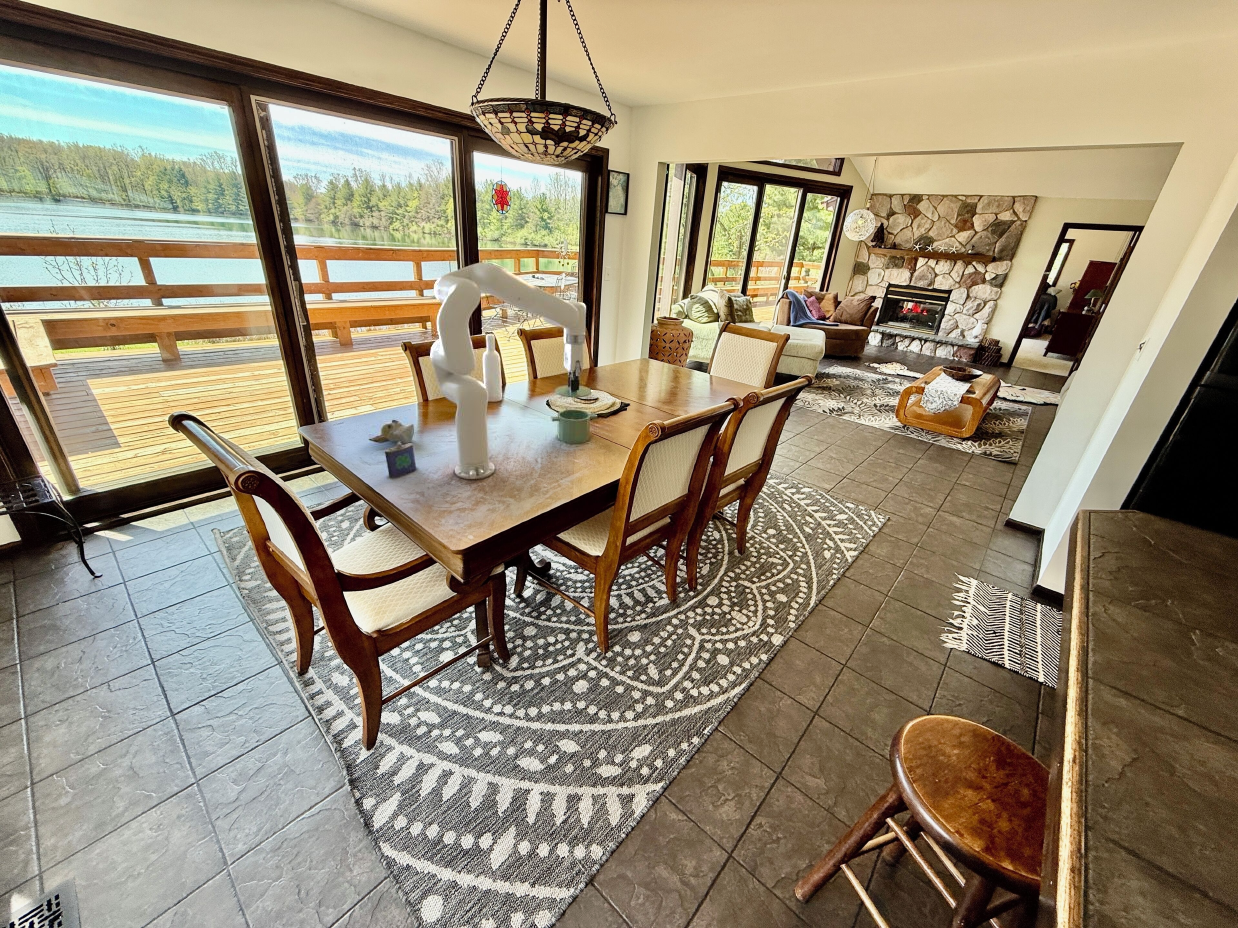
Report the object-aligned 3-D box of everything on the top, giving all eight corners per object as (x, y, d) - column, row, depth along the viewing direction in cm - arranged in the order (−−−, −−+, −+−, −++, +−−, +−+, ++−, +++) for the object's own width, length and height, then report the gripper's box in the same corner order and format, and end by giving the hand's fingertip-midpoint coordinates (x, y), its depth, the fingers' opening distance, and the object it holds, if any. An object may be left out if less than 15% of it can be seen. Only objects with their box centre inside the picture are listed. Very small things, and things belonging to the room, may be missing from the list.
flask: (413, 466, 159) (409, 437, 154) (418, 469, 158) (414, 439, 153) (387, 476, 152) (382, 445, 148) (392, 479, 151) (387, 448, 146)
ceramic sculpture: (406, 425, 168) (363, 425, 168) (410, 448, 172) (369, 447, 172) (418, 415, 178) (378, 415, 178) (422, 437, 181) (383, 436, 182)
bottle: (505, 399, 228) (503, 335, 215) (493, 403, 222) (490, 337, 209) (493, 395, 231) (490, 332, 218) (481, 399, 225) (477, 334, 212)
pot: (600, 441, 188) (601, 418, 184) (555, 445, 182) (555, 422, 178) (590, 429, 199) (591, 408, 195) (547, 433, 193) (547, 410, 189)
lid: (596, 398, 175) (597, 379, 172) (560, 400, 171) (560, 380, 168) (585, 387, 187) (586, 369, 184) (551, 389, 182) (551, 370, 179)
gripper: (558, 334, 176) (558, 383, 184) (570, 343, 162) (569, 396, 170) (578, 334, 178) (577, 382, 186) (591, 343, 165) (589, 394, 172)
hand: (573, 388), depth 178 cm, fingers closed on lid, 2 cm apart
